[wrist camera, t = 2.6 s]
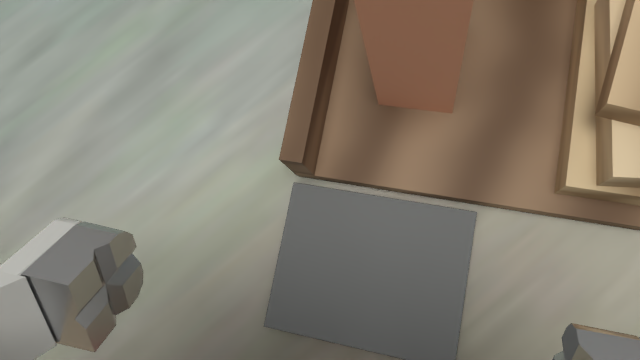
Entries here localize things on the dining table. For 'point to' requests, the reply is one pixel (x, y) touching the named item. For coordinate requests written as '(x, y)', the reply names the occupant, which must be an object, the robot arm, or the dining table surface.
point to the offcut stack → (602, 105)
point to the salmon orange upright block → (415, 50)
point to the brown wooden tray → (446, 115)
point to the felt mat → (372, 273)
